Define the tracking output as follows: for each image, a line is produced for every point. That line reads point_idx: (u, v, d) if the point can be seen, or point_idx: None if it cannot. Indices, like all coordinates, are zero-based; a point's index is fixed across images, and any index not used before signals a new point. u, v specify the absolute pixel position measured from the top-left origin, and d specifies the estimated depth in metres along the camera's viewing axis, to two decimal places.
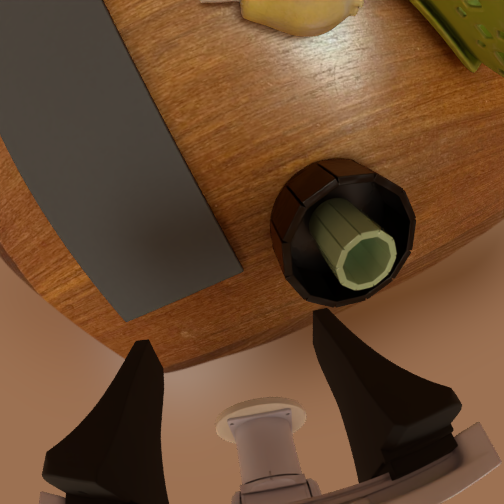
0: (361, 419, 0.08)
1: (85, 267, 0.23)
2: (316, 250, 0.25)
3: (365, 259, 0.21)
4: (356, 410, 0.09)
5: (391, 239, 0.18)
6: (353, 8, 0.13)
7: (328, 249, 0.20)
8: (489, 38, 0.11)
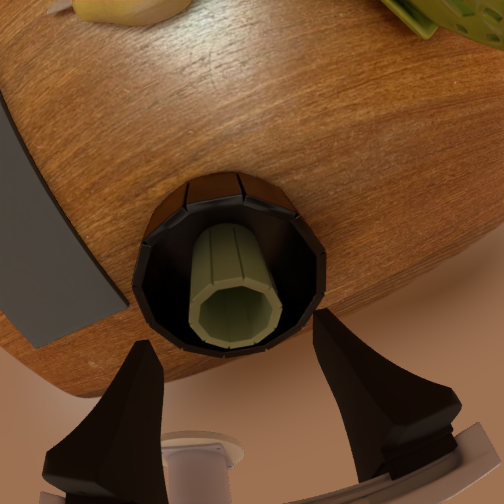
0: (361, 419, 0.08)
1: None
2: None
3: (253, 305, 0.17)
4: (356, 410, 0.09)
5: (267, 288, 0.14)
6: None
7: (189, 296, 0.15)
8: None
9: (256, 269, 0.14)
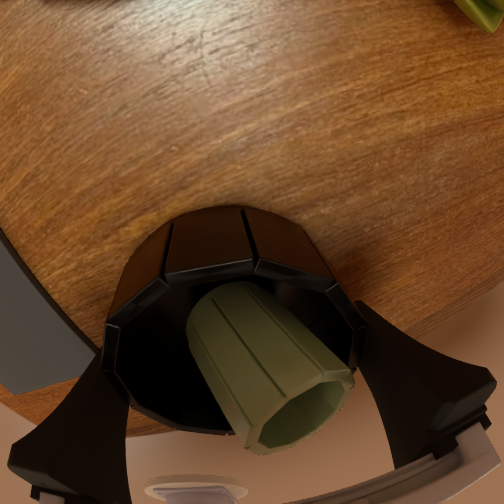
0: (403, 404, 0.08)
1: None
2: None
3: None
4: (397, 396, 0.09)
5: (346, 372, 0.09)
6: None
7: (224, 406, 0.09)
8: None
9: (320, 350, 0.10)
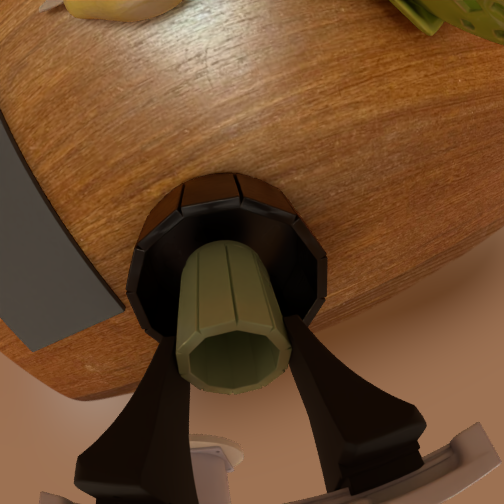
0: (323, 431, 0.08)
1: None
2: None
3: (258, 339, 0.14)
4: (319, 421, 0.09)
5: (270, 329, 0.10)
6: None
7: None
8: None
9: (254, 304, 0.11)
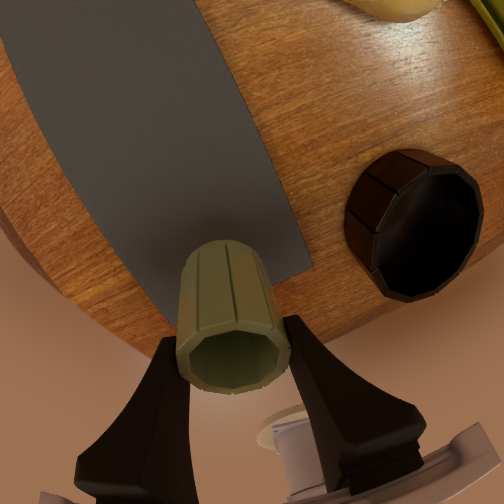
0: (323, 430, 0.08)
1: (128, 264, 0.20)
2: (386, 244, 0.22)
3: (259, 338, 0.14)
4: (319, 421, 0.09)
5: (270, 328, 0.10)
6: (438, 2, 0.10)
7: None
8: None
9: (254, 304, 0.11)
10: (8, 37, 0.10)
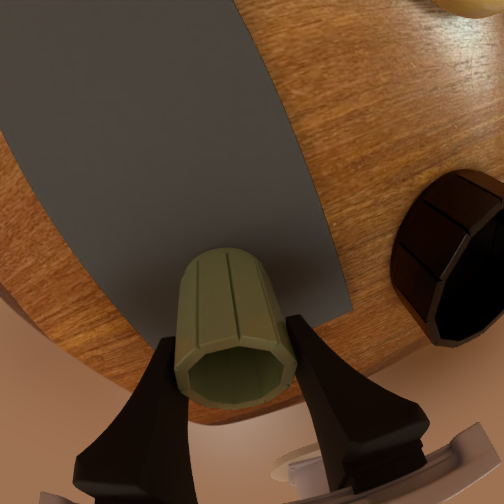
0: (326, 430, 0.08)
1: (125, 311, 0.16)
2: None
3: (261, 351, 0.13)
4: (322, 420, 0.09)
5: (274, 344, 0.10)
6: None
7: None
8: None
9: (257, 317, 0.10)
10: None
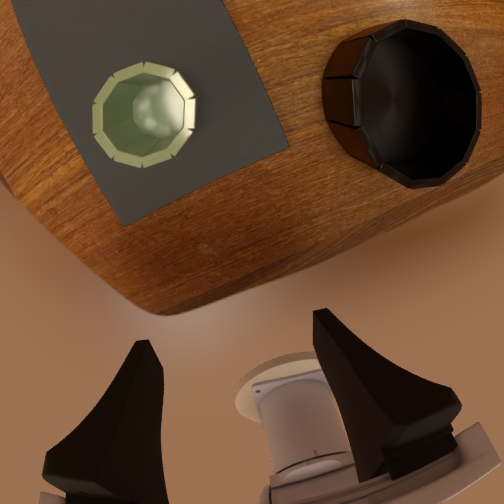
0: (361, 419, 0.08)
1: (79, 143, 0.16)
2: (375, 129, 0.18)
3: None
4: (356, 410, 0.09)
5: (172, 71, 0.10)
6: None
7: None
8: None
9: None
10: None
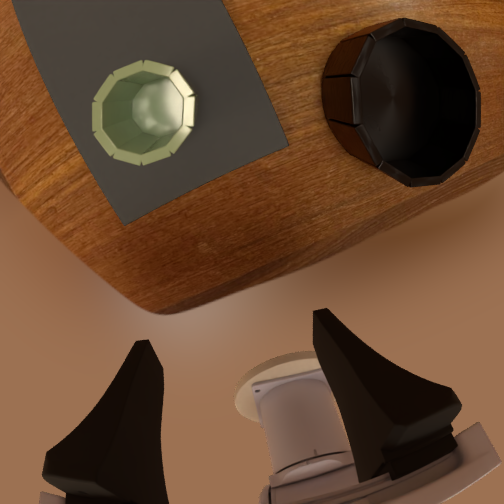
0: (361, 419, 0.08)
1: (79, 142, 0.16)
2: (374, 128, 0.18)
3: None
4: (356, 410, 0.09)
5: (171, 69, 0.10)
6: None
7: None
8: None
9: None
10: None
